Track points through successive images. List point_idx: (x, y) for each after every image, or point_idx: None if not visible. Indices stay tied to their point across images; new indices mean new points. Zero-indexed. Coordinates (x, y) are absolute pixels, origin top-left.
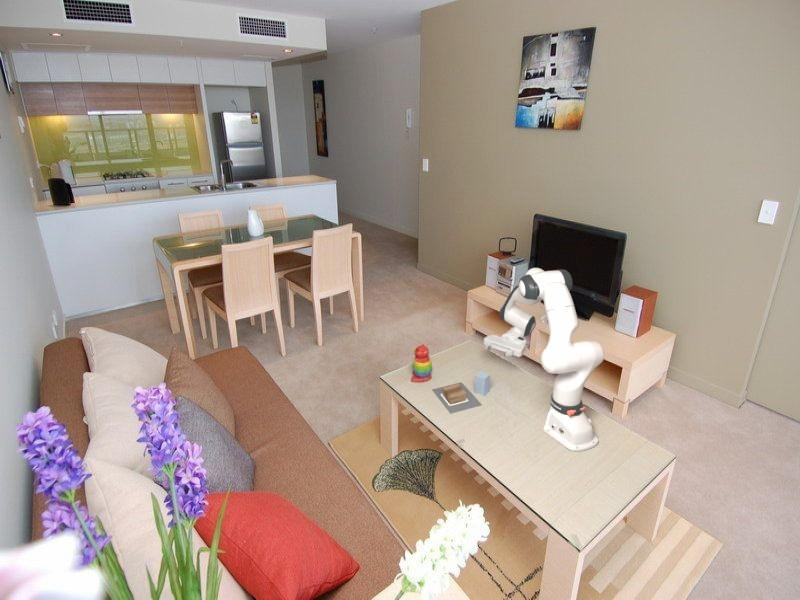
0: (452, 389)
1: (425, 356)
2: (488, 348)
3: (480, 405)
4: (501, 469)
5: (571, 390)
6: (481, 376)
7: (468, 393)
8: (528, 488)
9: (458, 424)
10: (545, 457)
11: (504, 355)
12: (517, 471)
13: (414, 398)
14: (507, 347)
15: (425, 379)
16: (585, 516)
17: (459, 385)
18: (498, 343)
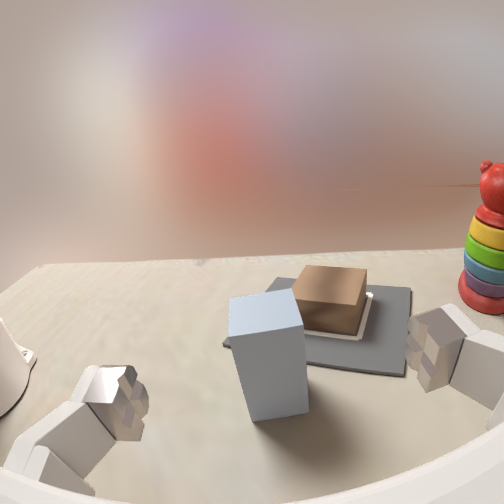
0: (337, 280)
1: (482, 196)
2: (414, 321)
3: (227, 338)
4: (115, 268)
5: None
6: (258, 298)
7: (313, 351)
8: (77, 271)
9: (235, 276)
10: (46, 312)
11: (135, 388)
12: (91, 277)
13: (394, 257)
14: (91, 497)
15: (462, 283)
16: (24, 282)
17: (343, 303)
18: (418, 485)
